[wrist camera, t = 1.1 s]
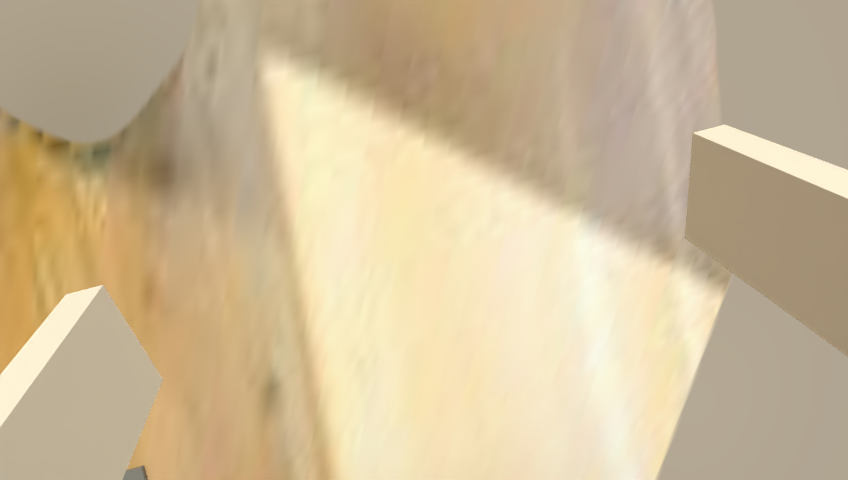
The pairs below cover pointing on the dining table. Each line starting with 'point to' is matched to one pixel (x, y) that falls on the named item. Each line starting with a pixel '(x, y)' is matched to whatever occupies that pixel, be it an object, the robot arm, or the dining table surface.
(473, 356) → the dining table surface
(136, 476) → the rubber mat
